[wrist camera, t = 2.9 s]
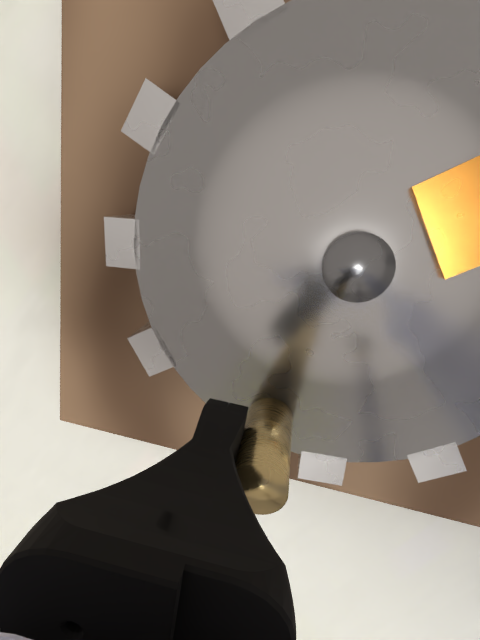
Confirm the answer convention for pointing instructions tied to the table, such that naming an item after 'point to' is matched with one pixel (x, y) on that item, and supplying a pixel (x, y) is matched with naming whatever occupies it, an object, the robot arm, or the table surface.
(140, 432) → the base board
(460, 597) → the table surface
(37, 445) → the table surface
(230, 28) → the wheel
